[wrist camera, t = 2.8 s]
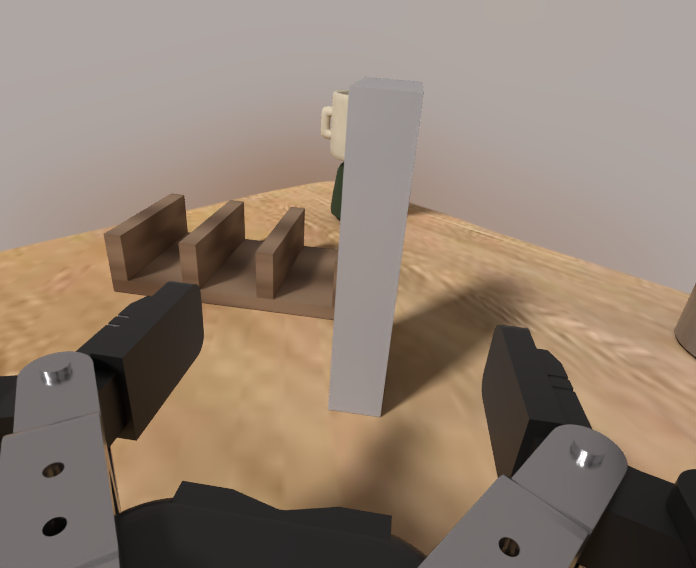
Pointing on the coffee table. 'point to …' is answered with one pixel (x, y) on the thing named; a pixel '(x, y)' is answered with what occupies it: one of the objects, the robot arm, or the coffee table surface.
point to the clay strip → (371, 236)
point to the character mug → (336, 141)
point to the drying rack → (224, 259)
